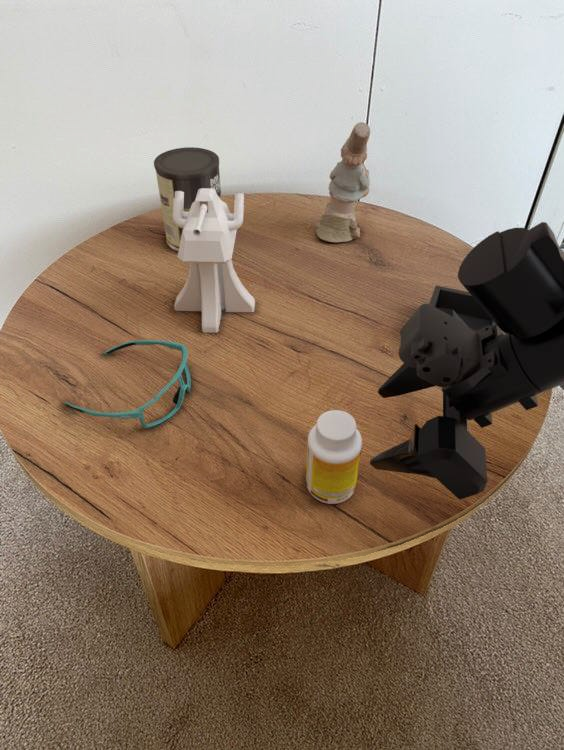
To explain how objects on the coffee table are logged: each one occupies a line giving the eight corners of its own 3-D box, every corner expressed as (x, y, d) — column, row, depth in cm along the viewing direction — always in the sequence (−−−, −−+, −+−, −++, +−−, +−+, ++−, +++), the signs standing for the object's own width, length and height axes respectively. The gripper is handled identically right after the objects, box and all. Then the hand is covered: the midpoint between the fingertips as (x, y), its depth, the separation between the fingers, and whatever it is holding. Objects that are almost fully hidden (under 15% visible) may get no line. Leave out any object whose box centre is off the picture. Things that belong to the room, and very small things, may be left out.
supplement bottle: (364, 497, 63) (374, 437, 56) (317, 512, 62) (321, 452, 55) (343, 459, 67) (350, 398, 60) (298, 472, 66) (300, 411, 59)
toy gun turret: (167, 336, 83) (146, 223, 70) (182, 282, 92) (166, 173, 80) (251, 338, 82) (245, 224, 70) (257, 283, 92) (253, 175, 79)
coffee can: (235, 231, 104) (230, 153, 94) (206, 260, 97) (197, 179, 87) (186, 218, 107) (176, 142, 97) (154, 245, 100) (140, 166, 90)
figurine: (357, 249, 99) (370, 131, 85) (310, 241, 101) (314, 124, 87) (368, 224, 105) (381, 109, 91) (323, 216, 107) (329, 103, 93)
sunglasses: (166, 443, 69) (156, 414, 65) (60, 423, 73) (45, 395, 70) (211, 365, 78) (204, 336, 75) (115, 352, 83) (104, 324, 79)
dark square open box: (496, 321, 85) (503, 299, 82) (488, 362, 79) (495, 340, 76) (430, 306, 88) (435, 284, 85) (417, 345, 81) (422, 323, 79)
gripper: (469, 231, 51) (335, 315, 60) (478, 378, 38) (304, 457, 47) (535, 314, 55) (400, 380, 64) (563, 471, 42) (389, 526, 51)
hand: (376, 427), depth 57 cm, fingers open, 9 cm apart
